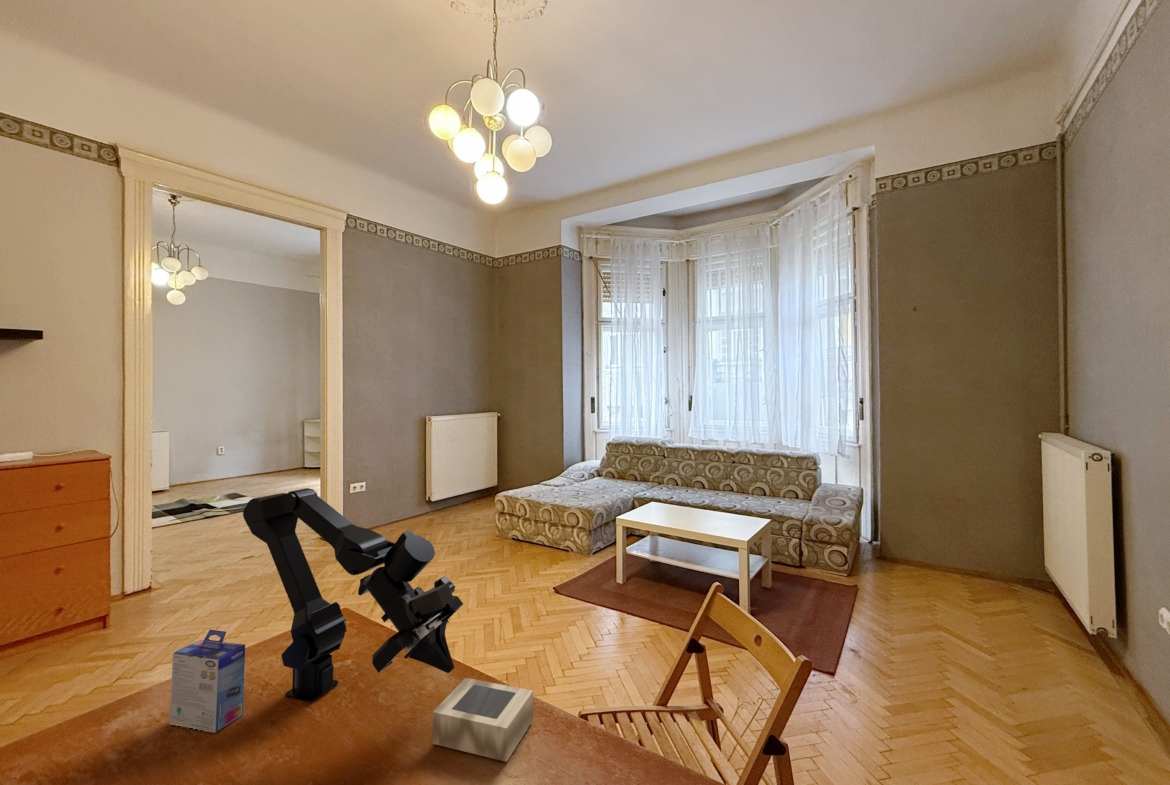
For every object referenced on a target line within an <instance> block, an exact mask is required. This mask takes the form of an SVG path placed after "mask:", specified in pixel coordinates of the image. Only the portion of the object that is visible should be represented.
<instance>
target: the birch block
mask: <svg viewBox="0 0 1170 785" xmlns="http://www.w3.org/2000/svg"><path fill="white" fill-rule="evenodd" d="M533 721H534V691H533V690H532V689H531V690H530V689H525V688H522V687H515V686H512V685H511V686H510V685H505V684H500V683H496V682H495V683H494V682H490V681H485V680H480V679H476V678H471V677H469V678H468V677H465V678H464V679H463V680H462V681H461V682H460V683H459V684H458V685H457V686H456V687H455V688H454V689H453V690H452V691H451V692H450V694H448V695H447V697H446V698H445V699H444V700H443V701H442V702H440V703H439V705H438V706H437V707H435V709H434V710H433V711H432V736H431V737H432V738H431V740H432V745H437V746H441V747H445V748H447V749H453V750H457V751H461V752H465V753H468V754H472V755H473V754H474V755H478V756H481V757H484V758H485V757H486V758H489V759H493V760H497V761H502V762H504V763H507V762H508V760H509V759H510V757H511V756H512V755H513V753H514V751H515V750H516V748H517V746H518V745H519V743H520V742H521V740H522V739H523V737H524V735H525V734H526V733H527V730H528V729H529V728H530V726H531V724H532V722H533Z"/></svg>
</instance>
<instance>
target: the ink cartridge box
mask: <svg viewBox="0 0 1170 785" xmlns="http://www.w3.org/2000/svg"><path fill="white" fill-rule="evenodd" d="M226 634H227V631H223V630H216V629H209V631H208V632H207V633H206V635H205V637H204V640H203V639H201V640H198V641H196V642H193V643H191V644H189V645H186V646H184V647H182V648H181V649H178V650H177V651H175V652H173V653H172V663H171V667H172V669H171V683H170V684H171V685H170V686H171V687H170V702H169V703H170V706H169V722H168V723H171V724H178V725H182V726H186V727H189V728H193V729H192V730H195V729H198V730H197V731H200V730H203V732H206V733H207V732H208V733H214V734H215V733H218V732H219V731H220V730H222V729H223V728H225V727H226V726H228V725H230V724H231V723H233V722H235V721H236V720H238V719H240V718H241V717H242V716H244V701H245V700H244V698H245V666H246V665H245V662H246V661H245V660H246V644H243V643H234V642H224V639H225V637H226ZM211 636H216V637H219V640H214V639H210V637H211ZM189 728H188V729H189Z"/></svg>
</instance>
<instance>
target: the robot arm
mask: <svg viewBox="0 0 1170 785" xmlns="http://www.w3.org/2000/svg"><path fill="white" fill-rule="evenodd" d="M242 516H243V520H244V521H245V524H246V525H247V527H248V529H249V530H250V532H251V534H252V535H253V536H254V537H256V538H258V539H260V541H263V542H264V543H265V544H266V545H267V548H268V550H269V553H270V555H271V558H272V561H273V563H274V564H275V567H276V570H277V573H278V575H279V578H280V581H281V583H282V585H283V588H284V591H285V593H286V595H287V598H288V600H289V604H290V606H291V608H292V611H293V619H292V624H291V628H290V634H291V638H292V642H291V643H290V645H288V646H287V648H286V649H285V650H284V651H283V652H282V653H281V655H280V656H281V659H282V664H283V666H284V667H286V668H289V669H292V684H291V685H292V688H291V689H289V690H288V691H286V692H285V694H284V697H285V698H288V699H289V698H290V699H294V700H299V701H302V702H307V703H314V702H315V701H316V700H318V699H319V698H320V697H322V696H324V695H325V694H326V693H327V692H329V691H330V690H332V689H333V688H334V687H336V686H337V685H338V684H339V680H337V679H334V664H333V655H332V653H334V652H336V651H339V650H340V649H341V646H342V643H343V641H344V638H345V634H346V632H347V624H346V621H347V618H346V617H345V616H344V614H343V612H342V609H341V606H340V604H339V603H338V601H334V602H332V603H331V602H329V601H327V600H325V599H324V598H323V596H322V594H321V592H320V589H319V587H318V584H317V581H316V579H315V577H314V575H313V572H312V569H311V566H310V565H309V562H308V559H307V558H306V555H305V552H304V550H303V547H302V545H301V543H300V540H299V538H298V535H297V532H296V530H297V523H298V521H299V520H301V522H303V524H305V525H307V526H308V528H310V529H311V530H312V531H314V532H315V533H316V535H318V536H320V537H321V538H322V539H323V540H324V541H325V542H327V543H328V544H329V545H330V546H331V548H333V550H334V558H335V560H336V561H337V562H338V563H339V565H340V566H341V567H342V568H343V569H344V570H345V571H346V573H348V574H349V575H351V576H358V575H362V574H364V573H365V572H368V571H371V570H373V569H374V570H373V571H372V573H371V574H368V575H366V576H364V577H363V578H360V579H359V587H358V592H357V595H358V596H363V595H364V594H366V593H368V592H369V593H370V594H371V596H372V597H373V599H374V600H375V601H376V603H377V604H378V606H379V607H380V608H381V610H382V611H383V612H384V614H383V615H382V616H381V617H380V619H381V620H382V621H383V622H384V623H386V622H387V621H390V622H391V623H392V625H393V626H394V628H395V629H396V630H397V632H395V633H394V634H393V635H392V636H390V637H389V638H387V639H386V640H385V642H384V643H383V644H382V645H381V646H380V647H379V648H378V649H377V650H376V651H375V652H374V653H373V654H372V656H371V659H372V660H371V664H372V666H373V667H374V669H375V670H376V672H377V673H378V674H380V673H381V672H383V671H384V670H386V669H387V668H388V667H389V666H391V665H392V664H393V660H394V659H395V658H396V657H397V656H398V655H399V654H400V653H401V652H402V651H403V650H405V649H406V651H407V653H406V654H405V655H404V656H403V658H404V659H405V660H407V659H412V660H416V661H418V662H421V663H423V664H426V665H428V666H431V667H433V668H434V669H437V670H439V671H442V672H444V673H446V674H450V673H451V672H452V671H453V670H454V669H455V665H454V663H453V658H452V656H451V652H450V648H449V646H448V642H447V638H446V629H447V624H448V623H449V619H450V618H451V617H452V616H454V614H455V613H456V612H458V610H460V608H462V606H463V605H464V602H463V601H462V600H461V599H460V598H459V596H458V595H453V593H454V592H455V589H456V585H455V584H453V582H452V581H451V579H450V578H449V577H448V576H446V575H445V576H443V577H441V578H439V579H436V580H435V581H434V584H433V587H431V588H430V589H428V590H426V591H425V590H424V589H423V588H422V587H420V586H417V587H415V588H414V587H413V586H412V585H411V584H410V582H412V581H413V580H414V579H415V578H416V577H418V575H419V574H420V573H421V572H423V570H424V569H425V568H426V566H428V564H429V563H430V562H431V561H433V559H434V557H435V554H436V552H435V548H434V546H433V544H432V543H431V541H429V540H427V539H426V538H425V537H423V536H421V535H417V534H414V533H413V531H412V530H408V531H405V532H402V534H400V536H399V537H398V538H397V540H396V542H393V541H390V540H387V538H386V537H385V536H384V535H381V533H378V532H376V531H374V530H372V529H370V528H366V527H360V526H357V525H355V524H354V523H352V522H351V521H350V520H348V519H347V518H346V517H345V516H344V515H342V514H341V513H340V512H338V511H337V510H336V509H335V508H334V507H332V506H331V505H330V504H328V503H327V502H326V501H325V500H323V499H322V498H321V497H320V496H318V494H317V492H316V490H315V489H314V488H308V487H307V488H300V489H295V490H291V491H288V492H287V493H286V492H280V493H275V494H274V493H273V494H270V495H265V496H259V497H254V498H252V499H250V500H248V502H247V504H246V506H245V507H244V509H243V512H242ZM382 565H383V566H382Z"/></svg>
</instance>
